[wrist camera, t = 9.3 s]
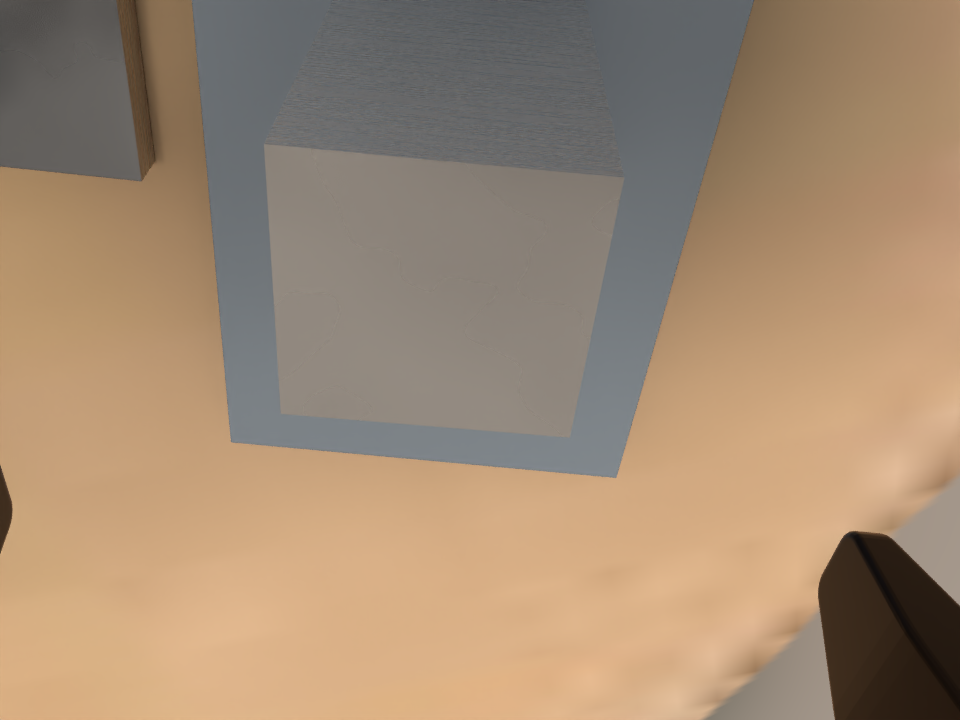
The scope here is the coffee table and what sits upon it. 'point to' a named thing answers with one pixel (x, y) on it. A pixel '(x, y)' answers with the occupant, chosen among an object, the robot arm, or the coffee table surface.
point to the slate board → (631, 259)
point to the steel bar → (442, 214)
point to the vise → (73, 89)
